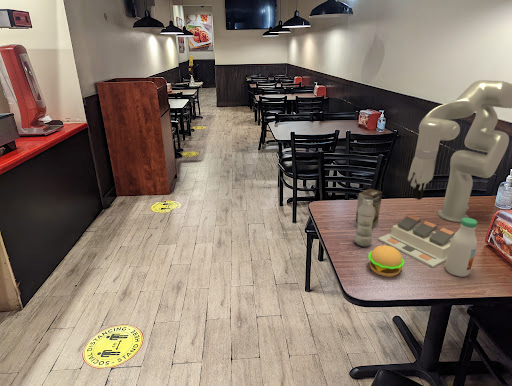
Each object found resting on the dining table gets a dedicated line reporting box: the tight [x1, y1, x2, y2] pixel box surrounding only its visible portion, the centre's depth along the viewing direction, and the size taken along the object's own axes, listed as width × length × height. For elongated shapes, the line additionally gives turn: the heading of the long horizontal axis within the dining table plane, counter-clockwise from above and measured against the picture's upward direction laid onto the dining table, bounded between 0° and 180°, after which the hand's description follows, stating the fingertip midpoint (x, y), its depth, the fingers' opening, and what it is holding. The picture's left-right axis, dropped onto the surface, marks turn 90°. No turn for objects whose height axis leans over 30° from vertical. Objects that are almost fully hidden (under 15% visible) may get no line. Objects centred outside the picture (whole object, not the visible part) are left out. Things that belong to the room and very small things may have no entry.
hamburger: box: [367, 244, 405, 278], centre depth 121 cm, size 12×12×9 cm
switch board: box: [377, 223, 452, 269], centre depth 136 cm, size 17×24×5 cm
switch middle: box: [413, 220, 438, 238], centre depth 136 cm, size 8×5×1 cm, turn 123°
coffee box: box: [354, 188, 383, 229], centre depth 151 cm, size 9×6×16 cm
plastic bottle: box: [354, 197, 376, 247], centre depth 135 cm, size 6×7×20 cm
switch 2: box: [429, 227, 456, 246], centre depth 131 cm, size 8×5×1 cm, turn 123°
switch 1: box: [396, 214, 422, 231], centre depth 142 cm, size 8×5×1 cm, turn 123°
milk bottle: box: [444, 217, 478, 278], centre depth 118 cm, size 8×8×20 cm
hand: (417, 198), depth 139 cm, fingers closed
